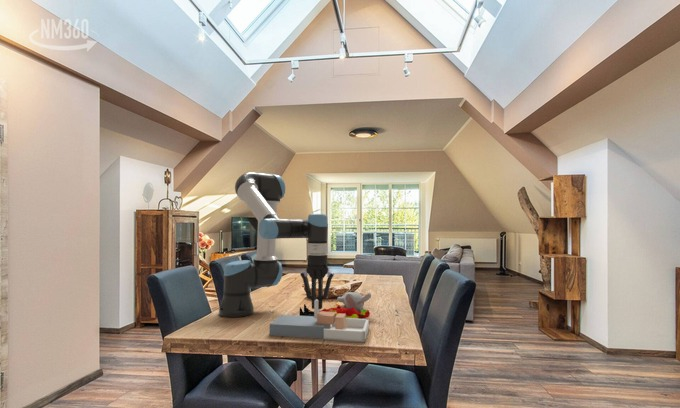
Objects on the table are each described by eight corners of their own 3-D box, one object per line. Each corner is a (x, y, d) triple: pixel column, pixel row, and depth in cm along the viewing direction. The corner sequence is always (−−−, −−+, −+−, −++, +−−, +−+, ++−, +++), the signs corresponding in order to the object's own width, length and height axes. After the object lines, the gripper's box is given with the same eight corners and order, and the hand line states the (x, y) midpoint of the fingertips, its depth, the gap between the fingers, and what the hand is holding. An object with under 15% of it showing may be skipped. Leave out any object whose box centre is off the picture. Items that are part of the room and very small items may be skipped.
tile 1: (316, 323, 132) (317, 315, 132) (320, 319, 138) (320, 311, 138) (332, 324, 131) (333, 316, 131) (335, 320, 137) (336, 312, 137)
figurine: (306, 301, 165) (371, 302, 159) (306, 315, 164) (371, 316, 158) (297, 308, 153) (367, 309, 147) (297, 323, 152) (368, 324, 146)
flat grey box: (269, 335, 131) (269, 324, 131) (281, 324, 145) (281, 314, 145) (323, 338, 128) (323, 327, 128) (330, 327, 141) (330, 317, 142)
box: (323, 339, 126) (323, 329, 126) (332, 326, 143) (332, 317, 143) (364, 342, 124) (364, 331, 124) (368, 328, 140) (368, 319, 141)
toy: (336, 310, 181) (346, 317, 152) (336, 290, 183) (345, 293, 154) (359, 309, 183) (373, 316, 153) (359, 289, 184) (372, 293, 155)
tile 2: (335, 317, 131) (343, 317, 131) (338, 313, 137) (345, 313, 137) (335, 334, 131) (343, 334, 131) (338, 329, 137) (345, 329, 136)
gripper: (298, 254, 134) (297, 319, 133) (332, 255, 132) (332, 321, 130) (303, 253, 142) (302, 314, 140) (336, 254, 139) (335, 316, 138)
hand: (316, 317), depth 135 cm, fingers closed
